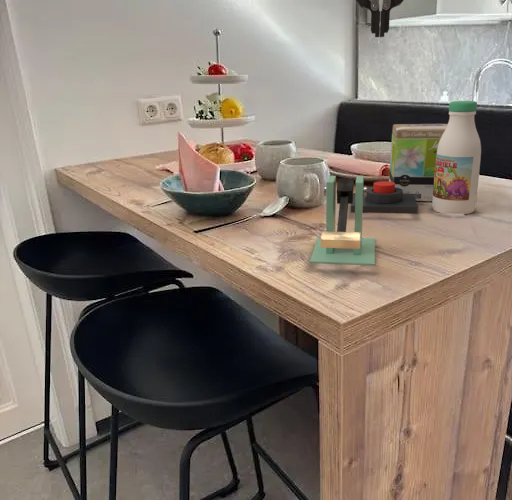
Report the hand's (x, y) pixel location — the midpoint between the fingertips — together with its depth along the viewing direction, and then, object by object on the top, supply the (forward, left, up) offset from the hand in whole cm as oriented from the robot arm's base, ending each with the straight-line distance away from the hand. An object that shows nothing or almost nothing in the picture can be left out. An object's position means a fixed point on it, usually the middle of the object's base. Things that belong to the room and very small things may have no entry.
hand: (379, 36), depth 80 cm
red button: (-2, -8, -27) cm, 29 cm away
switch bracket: (+4, +18, -31) cm, 36 cm away
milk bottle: (-15, -9, -31) cm, 36 cm away
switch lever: (+4, +22, -24) cm, 33 cm away
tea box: (-11, -19, -31) cm, 38 cm away
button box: (-2, -8, -31) cm, 32 cm away
